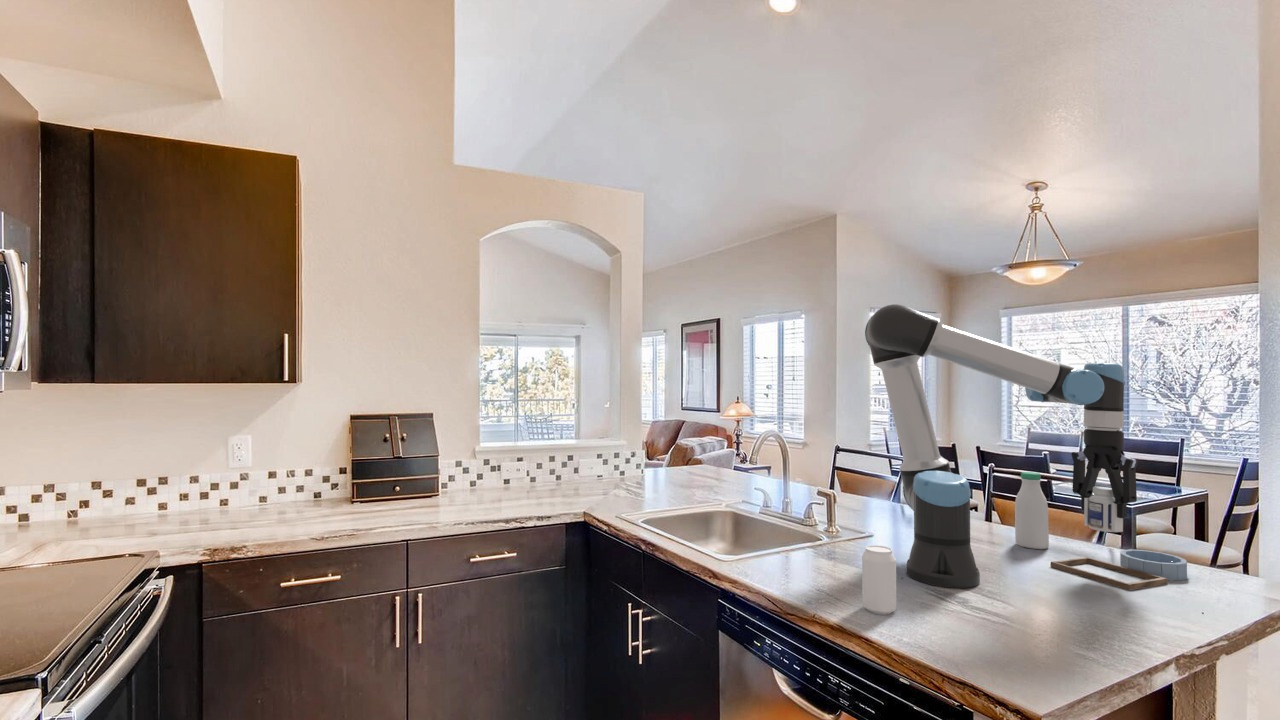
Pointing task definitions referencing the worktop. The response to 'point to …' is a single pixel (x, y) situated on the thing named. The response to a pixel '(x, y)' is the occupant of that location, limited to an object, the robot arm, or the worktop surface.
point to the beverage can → (879, 580)
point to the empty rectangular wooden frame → (1151, 581)
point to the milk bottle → (1031, 513)
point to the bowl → (1155, 563)
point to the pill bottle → (1101, 509)
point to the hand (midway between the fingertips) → (1103, 528)
